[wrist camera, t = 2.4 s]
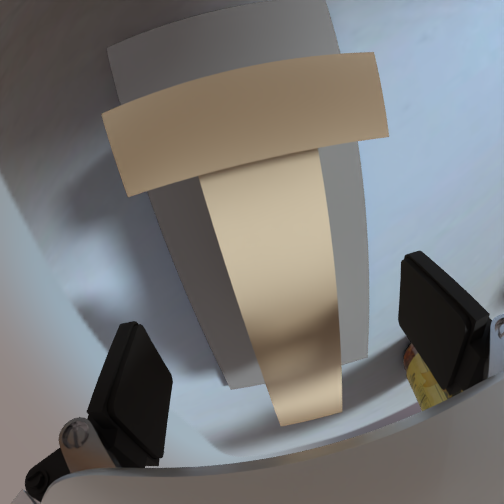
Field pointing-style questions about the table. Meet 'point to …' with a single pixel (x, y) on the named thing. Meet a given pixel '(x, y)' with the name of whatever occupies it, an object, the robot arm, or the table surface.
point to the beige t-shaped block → (264, 198)
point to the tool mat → (189, 190)
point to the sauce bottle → (423, 380)
